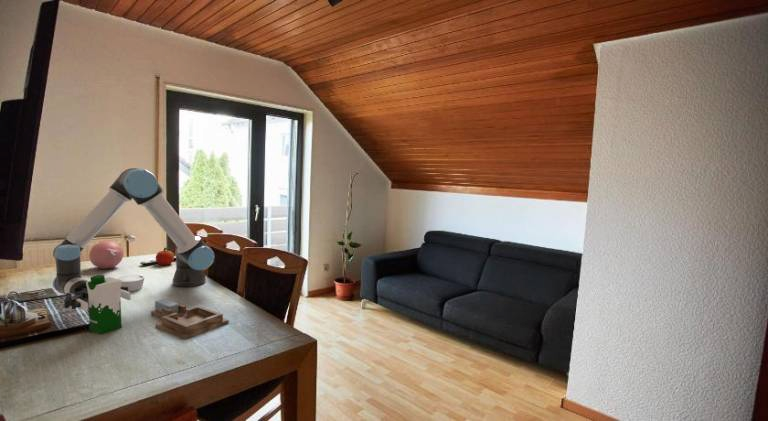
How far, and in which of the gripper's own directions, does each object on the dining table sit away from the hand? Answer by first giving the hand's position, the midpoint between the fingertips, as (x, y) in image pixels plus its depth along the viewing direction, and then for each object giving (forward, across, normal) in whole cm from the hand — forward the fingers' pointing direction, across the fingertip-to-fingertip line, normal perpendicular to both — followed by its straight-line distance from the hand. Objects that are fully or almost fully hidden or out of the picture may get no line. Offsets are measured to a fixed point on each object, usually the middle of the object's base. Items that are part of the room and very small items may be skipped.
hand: (109, 301), depth 137 cm
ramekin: (-42, -28, -11) cm, 52 cm away
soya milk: (-3, 0, -11) cm, 12 cm away
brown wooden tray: (+11, -20, -11) cm, 26 cm away
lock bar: (+1, -20, -10) cm, 22 cm away
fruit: (-72, -62, -11) cm, 96 cm away
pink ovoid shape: (-85, -38, -11) cm, 94 cm away
